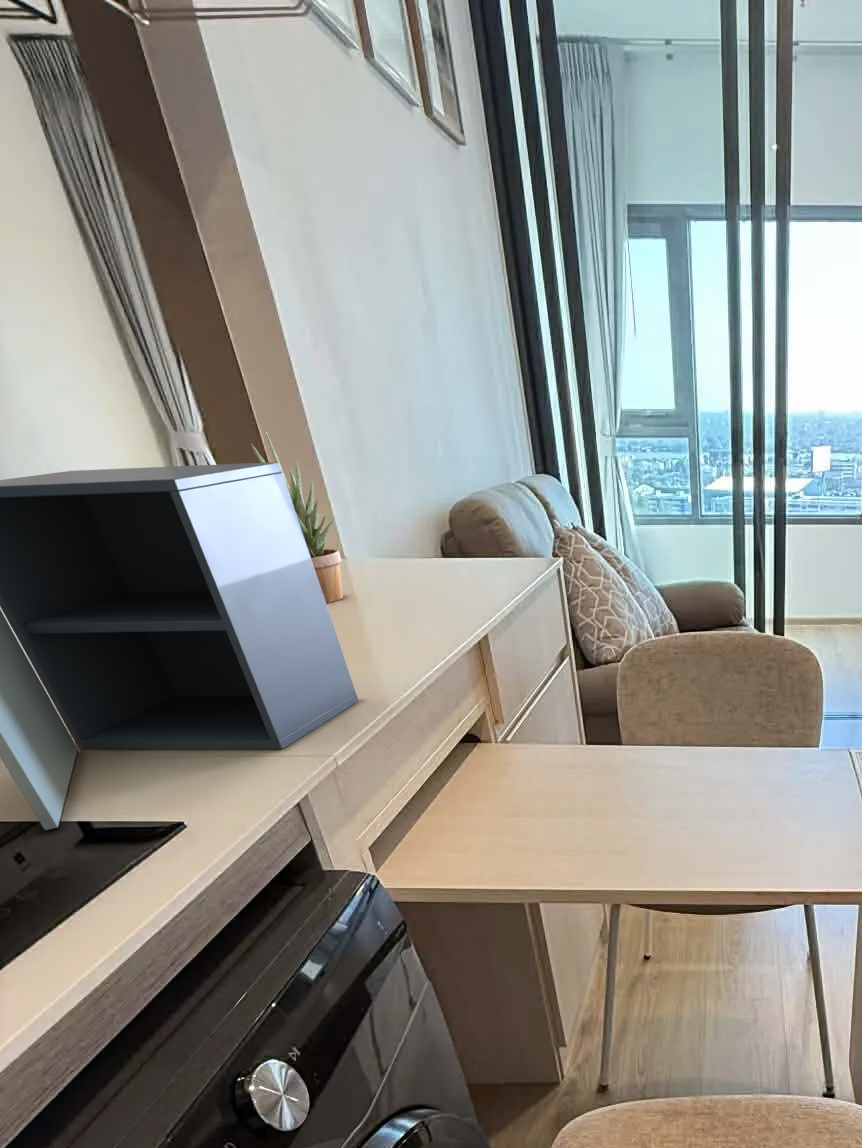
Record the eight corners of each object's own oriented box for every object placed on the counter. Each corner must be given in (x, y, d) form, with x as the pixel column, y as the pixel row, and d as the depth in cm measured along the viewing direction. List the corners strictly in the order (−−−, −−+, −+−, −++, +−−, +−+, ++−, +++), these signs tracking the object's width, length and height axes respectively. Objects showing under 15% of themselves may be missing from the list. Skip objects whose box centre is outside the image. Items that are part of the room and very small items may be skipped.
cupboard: (282, 749, 88) (173, 479, 73) (78, 749, 90) (-66, 488, 76) (358, 701, 100) (279, 461, 85) (177, 702, 103) (70, 470, 88)
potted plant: (286, 602, 150) (226, 433, 134) (336, 592, 155) (284, 428, 140) (312, 608, 144) (253, 433, 129) (364, 597, 150) (312, 428, 135)
